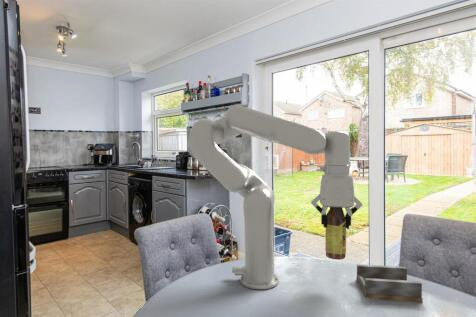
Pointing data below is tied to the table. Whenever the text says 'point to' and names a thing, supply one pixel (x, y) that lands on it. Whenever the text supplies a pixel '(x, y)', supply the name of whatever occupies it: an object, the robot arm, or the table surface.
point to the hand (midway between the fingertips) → (335, 226)
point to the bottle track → (388, 283)
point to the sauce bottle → (336, 234)
